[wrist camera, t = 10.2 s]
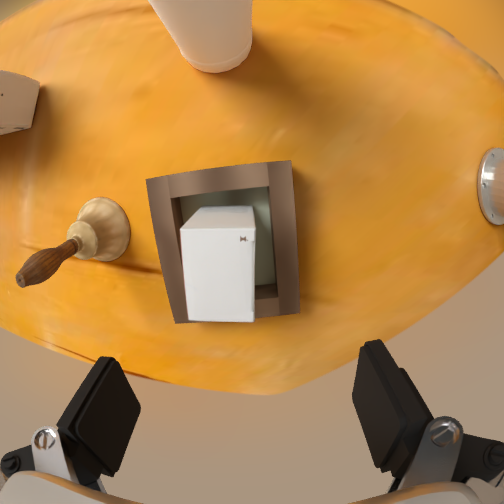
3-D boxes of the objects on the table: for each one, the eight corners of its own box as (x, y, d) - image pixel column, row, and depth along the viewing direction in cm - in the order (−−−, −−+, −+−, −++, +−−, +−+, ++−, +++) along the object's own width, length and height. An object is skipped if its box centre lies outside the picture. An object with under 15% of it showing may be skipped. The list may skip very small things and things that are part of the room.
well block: (284, 161, 28) (290, 160, 24) (293, 294, 33) (300, 313, 29) (159, 177, 29) (145, 179, 24) (183, 304, 34) (175, 323, 29)
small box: (201, 204, 29) (177, 225, 19) (253, 204, 29) (256, 225, 19) (204, 273, 31) (186, 322, 21) (252, 274, 32) (254, 324, 21)
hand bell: (139, 213, 30) (58, 257, 15) (119, 271, 32) (50, 340, 17) (87, 186, 29) (-6, 210, 14) (71, 243, 31) (-9, 292, 16)
